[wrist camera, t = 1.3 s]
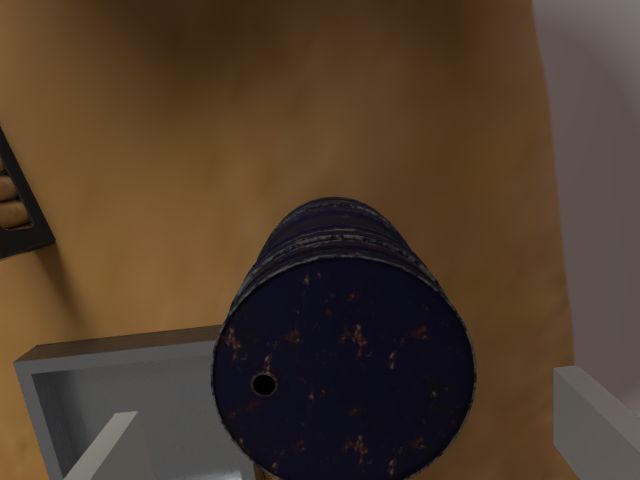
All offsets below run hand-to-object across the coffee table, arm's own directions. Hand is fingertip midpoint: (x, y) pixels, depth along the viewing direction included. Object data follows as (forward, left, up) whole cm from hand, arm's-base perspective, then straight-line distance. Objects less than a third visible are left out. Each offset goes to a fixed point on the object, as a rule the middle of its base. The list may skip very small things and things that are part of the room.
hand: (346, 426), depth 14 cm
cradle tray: (+11, -15, -17) cm, 25 cm away
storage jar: (0, 0, -17) cm, 17 cm away
